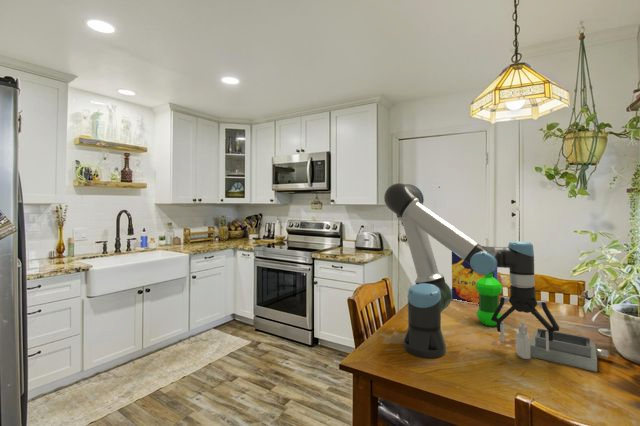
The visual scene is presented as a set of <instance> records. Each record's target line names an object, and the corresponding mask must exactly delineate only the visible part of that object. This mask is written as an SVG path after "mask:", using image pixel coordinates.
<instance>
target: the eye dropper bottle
mask: <svg viewBox="0 0 640 426" xmlns="http://www.w3.org/2000/svg"><path fill="white" fill-rule="evenodd" d="M515 332H516V331H515ZM530 344H531V336H530V335H529V334H528V326H526V324H525V322H524V321H523V322H522V321H521V324H520V325H519V326H518V331H517V332H516V333H515V354H516V355H517V356H518V357H519V358H521V359H523V360H531V357H530Z"/></svg>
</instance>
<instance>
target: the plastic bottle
mask: <svg viewBox="0 0 640 426" xmlns="http://www.w3.org/2000/svg"><path fill="white" fill-rule="evenodd" d="M493 274H494V271H493V272H491V273H489V274H486V275H485V276H484V277H483V278H481V279H480V280H479V281H477V283H476V290H477V291H478V293H479V305H478V310H477V312H476V317H477V319H478V320H479V321H480V322H481V323H482V324H483V325H484V324H485V325H484V326H487V325H489V326H490V327H494V326H495V327H496V326H497V323H496V322H495V321H492V320H491V318H492V316H493V314H494V313H495V311H496V309H497V308H498V306H499V304H500V295H501V294H502V292H503V286H502V283H501V282H499V280H498V279H497V280H496V279H495V278H494V277H493ZM501 316H502V314H501V311H500V312H499V314H498V316H497V318H500V317H501ZM489 326H488V327H489Z"/></svg>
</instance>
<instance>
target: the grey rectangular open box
mask: <svg viewBox="0 0 640 426" xmlns="http://www.w3.org/2000/svg"><path fill="white" fill-rule="evenodd" d="M598 357H601V358H606V359H610V351H609V350H606V349H602V348H596V344H595V342H593V341H591V339H590V337H587V336H581V335H578V334H571V333H567V332H560V331H554V332H553V341H549V351H546V328H544V329H543V328H537V331H535V330H534V332H533V335H532V338H531V340H530V358H535V359H540V360H544V361H548V362H552V363H555V364H556V363H557V364H560V365H561V364H562V365H565V366H569V367H573V368H577V369H582V370H586V371H591V372H594V373H597V372H598Z"/></svg>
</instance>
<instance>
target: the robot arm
mask: <svg viewBox="0 0 640 426" xmlns="http://www.w3.org/2000/svg"><path fill="white" fill-rule="evenodd" d="M383 198H384V204H385V206H386V207H387V208H388V209H389V210H390V211H391V212H393V213H394V214H396V219H397V220H400V221H401V222H402V225H403V229H404V230H403V231H404V233H405V237H406V240H407V243H408V247H409V251H410V254H411V259H412V262H413V265H414V269H415V271H416V276H417V277H416V279H415V281H414V282H415V284H413V285H411V286H410V287H409V288H408V291H407V292H408V293H407V314H408V315H407V317H408V318H407V320H408V321H407V322H408V324H407V325H408V326H407V327H408V328H407V330H406V333H405V336H404V338H403V348H404V350H405V351H406V352H408V353H409V354H411V355H414V356H416V357H420V358H427V359H428V358H432V359H433V358H439V357H443V356H444V355H445V354H446V353H447V345H446V341H445V339H444V335H443V332H442V329H441V327H442V326H441V324H442V323H441V322H442V321H441V320H442V319H441V317H442V316H441V313H442V312H443V311H444V310H445V309H446V308H447V307H448V306H449V305H450V304H451V301H452V288H451V287H450V285H449V284H448V283H447V282H446V280H445V276H444V274H443V273H442V274H441V273H440V272H439V269H438V265H437V262H436V258H435V256H434V251H433V248H432V245H431V241H430V237H431V238H432V239H435V241H437V242H438V243H440V244H441V245H443V246H444V247H445V248H447V249H448V250H450V251H451V253H452V252H454V253H455V254H456V255H458V256H459V257H460V258H462V259H463V260H464V261H466V262H467V263H468V264H470V265H471V268H472V269H473V270H474V271H475V272H476V273H478V274H481V275H486V274H489V273H491V272H493V271H494V270H495V269H496V267H497V268H505V269H509V284H510V285H509V290H510V291H509V292H510V293H509V294H510V295H509V297H506V296H505V295H502V296H501V297H500V298H499V306H498V308H497V309H496V311H495V313H494V314H493V316H492V318H491V320H492V321H495V322H496V323H497V324H496V329H497V330H496V331H497V332H498V333H499V334H500V343H504V342H505V323H504V321H505V319H506V318H507V317H508V316H510V314H512V313H514V311H517V312H518V313H519V312H520V313H526V314H528V313H531V314H532V315H533V316H534V317H535V318H536V319H537V321H538V322H540V324H542V325H543V327H544V329H545V330H546V351H549V341H553V332H554V331H556V332H560V326H559V324H558V323H557V321H556V320H555V319H556V318H554V316H553V314H552V312H551V311H550V310H549V307H548V304H547V301H546V300H541V301H539V300H538V301H537V299H536V287H535V285H536V282H535V281H536V278H535V253H534V245H533V244H532V243H531V242H529V241H510V242H508V245H507V246H504V247H503V246H485V245H481V244H480V243H478V242H477V241H475V240H474V239H472V238H471V237H469V236H468V235H467V234H465V233H464V232H462V231H461V230H459V229H458V228H456V226H454V225H452V224H451V223H449V222H448V221H446V220H445V219H444V218H442V217H440V216H439V215H437V214H436V213H435V212H434V211H432V210H431V209H429V208H428V207H426V206H425V205H424V201H425V199H424V193H423V192H422V190H421V189H420V188H419V186H416V185H413V184H409V183H407V184H405V183H393V184H392V185H390V186H389V187H388V188H387V189H386V190H385V193H384V197H383ZM429 236H430V237H429ZM508 302H509V304H510V305H511V306H510V307H509V308H508V309H507V310H506V311H505V312H504V313H503V314H501V317H500V318H497V316H498V314H499V312H500V313H501V311H502V309H503V307H504V305H505V304H507V303H508ZM537 306H539V307H540V309H542V310H543V311H542V312H544V314H545V316H546V318H547V320H546V319H545V318H544V316H542V315H541V313H540V312H539V311H538V309H537V308H536V307H537ZM548 320H549V322H550V323H549V322H548Z"/></svg>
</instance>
